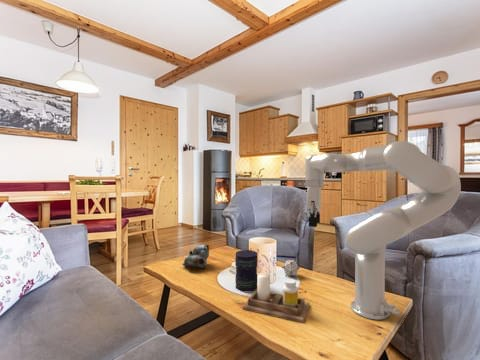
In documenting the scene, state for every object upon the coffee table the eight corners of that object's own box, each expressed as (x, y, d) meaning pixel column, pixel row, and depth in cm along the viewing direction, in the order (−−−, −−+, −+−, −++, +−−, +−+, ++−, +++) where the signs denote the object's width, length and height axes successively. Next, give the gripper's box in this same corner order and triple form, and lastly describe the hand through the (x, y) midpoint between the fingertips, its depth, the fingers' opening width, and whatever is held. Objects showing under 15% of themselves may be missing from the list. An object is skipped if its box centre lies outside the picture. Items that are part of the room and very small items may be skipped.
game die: (292, 284, 124) (293, 273, 118) (278, 275, 129) (278, 263, 123) (302, 272, 129) (304, 260, 123) (288, 262, 134) (288, 251, 128)
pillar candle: (272, 301, 98) (272, 275, 98) (265, 306, 94) (265, 279, 94) (262, 297, 101) (262, 272, 101) (254, 302, 97) (254, 276, 97)
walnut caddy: (309, 305, 97) (309, 297, 97) (303, 322, 85) (303, 313, 85) (255, 294, 106) (255, 287, 106) (242, 309, 94) (242, 300, 94)
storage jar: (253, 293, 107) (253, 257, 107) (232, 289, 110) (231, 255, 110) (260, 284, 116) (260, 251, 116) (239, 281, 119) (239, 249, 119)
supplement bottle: (280, 304, 95) (280, 279, 95) (292, 302, 97) (292, 277, 97) (287, 312, 90) (287, 284, 90) (300, 309, 92) (300, 282, 91)
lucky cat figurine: (179, 265, 141) (188, 240, 147) (199, 271, 145) (207, 247, 151) (186, 265, 128) (195, 238, 134) (208, 272, 132) (215, 245, 138)
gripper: (308, 183, 118) (308, 220, 118) (301, 184, 102) (301, 227, 102) (325, 183, 115) (325, 222, 115) (321, 184, 99) (321, 229, 99)
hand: (314, 224), depth 109 cm, fingers open, 9 cm apart
